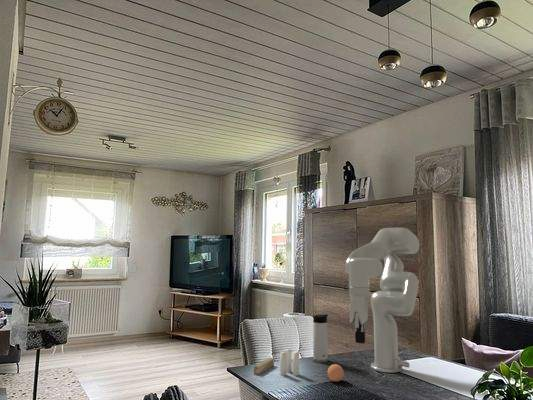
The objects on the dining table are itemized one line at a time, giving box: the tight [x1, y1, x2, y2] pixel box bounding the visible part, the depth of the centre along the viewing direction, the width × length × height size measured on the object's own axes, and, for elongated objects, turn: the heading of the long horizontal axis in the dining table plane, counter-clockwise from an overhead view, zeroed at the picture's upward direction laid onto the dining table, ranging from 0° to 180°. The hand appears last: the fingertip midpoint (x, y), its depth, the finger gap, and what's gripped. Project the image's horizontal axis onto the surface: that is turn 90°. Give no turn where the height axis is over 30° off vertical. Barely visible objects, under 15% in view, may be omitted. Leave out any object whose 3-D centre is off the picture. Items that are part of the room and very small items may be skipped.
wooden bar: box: [253, 357, 275, 376], centre depth 161 cm, size 2×14×3 cm, turn 153°
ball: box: [327, 363, 345, 382], centre depth 148 cm, size 6×6×6 cm
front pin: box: [292, 351, 300, 377], centre depth 155 cm, size 2×2×8 cm
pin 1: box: [279, 351, 288, 377], centre depth 155 cm, size 2×2×8 cm
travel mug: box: [312, 314, 329, 363], centre depth 177 cm, size 6×7×20 cm
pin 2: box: [285, 348, 293, 373], centre depth 160 cm, size 2×2×8 cm
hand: (360, 342), depth 145 cm, fingers closed
